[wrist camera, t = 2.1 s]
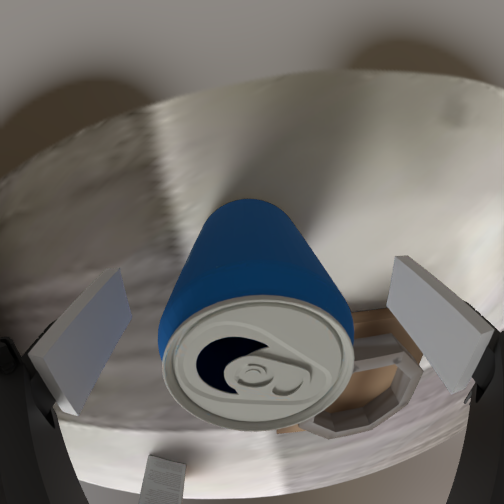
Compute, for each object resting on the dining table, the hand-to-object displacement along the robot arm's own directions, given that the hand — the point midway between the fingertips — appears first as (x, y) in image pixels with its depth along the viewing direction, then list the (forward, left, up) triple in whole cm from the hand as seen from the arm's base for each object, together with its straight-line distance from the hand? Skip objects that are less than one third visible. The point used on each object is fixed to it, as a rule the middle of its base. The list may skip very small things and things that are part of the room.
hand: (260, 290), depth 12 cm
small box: (-14, -34, -7) cm, 38 cm away
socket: (+9, -13, -7) cm, 17 cm away
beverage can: (0, 0, -7) cm, 7 cm away
